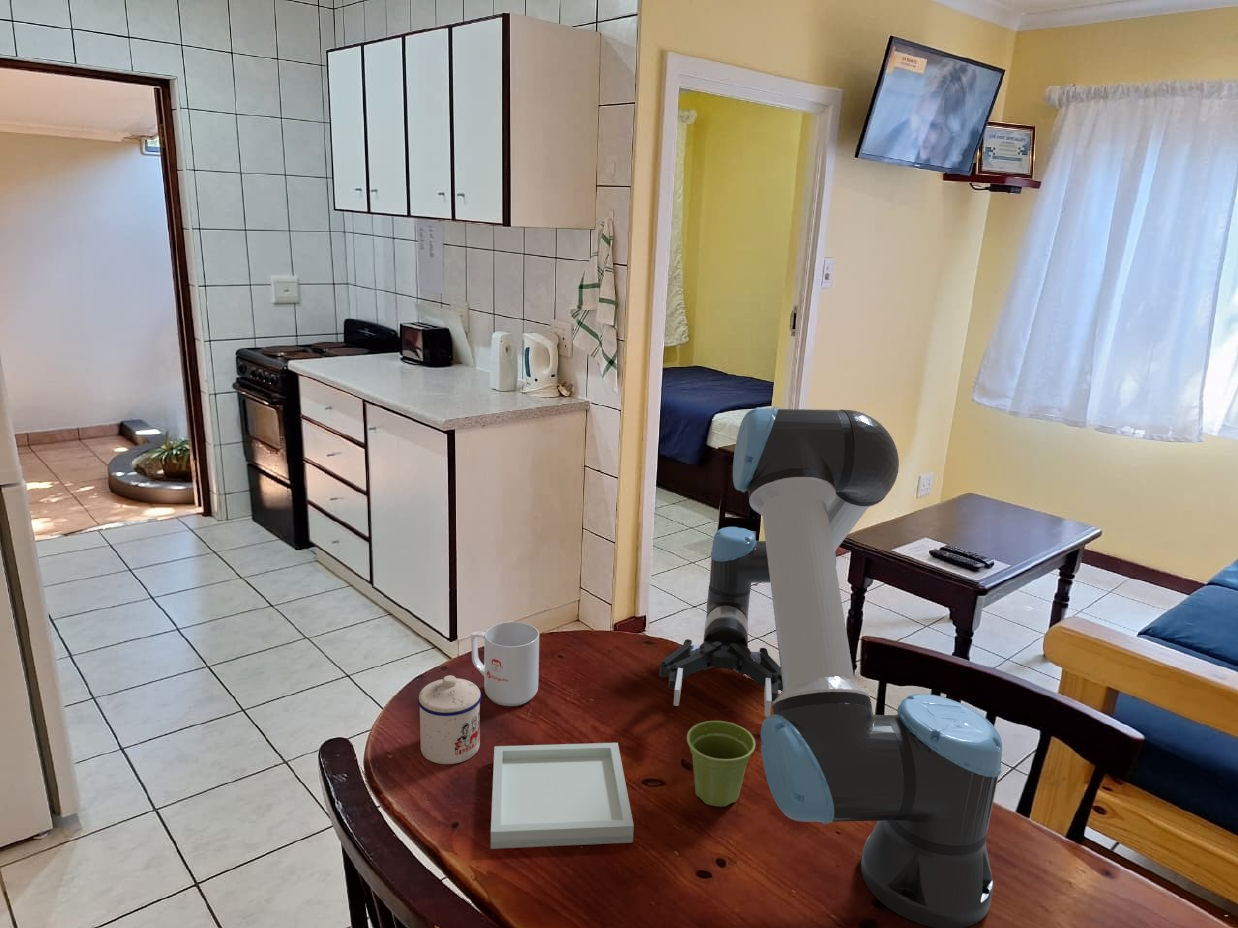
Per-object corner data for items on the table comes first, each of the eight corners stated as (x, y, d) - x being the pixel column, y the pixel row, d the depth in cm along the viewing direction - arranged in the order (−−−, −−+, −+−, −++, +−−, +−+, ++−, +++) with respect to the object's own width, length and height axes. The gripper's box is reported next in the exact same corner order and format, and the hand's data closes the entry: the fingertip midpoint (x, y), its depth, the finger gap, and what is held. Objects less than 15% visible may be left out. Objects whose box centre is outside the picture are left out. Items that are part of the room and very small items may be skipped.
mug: (547, 688, 144) (549, 628, 141) (521, 714, 136) (521, 651, 133) (487, 671, 148) (487, 613, 145) (457, 695, 140) (457, 634, 137)
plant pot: (679, 809, 115) (683, 754, 113) (686, 768, 124) (690, 716, 122) (748, 820, 114) (754, 764, 111) (751, 777, 123) (756, 725, 120)
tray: (632, 842, 109) (633, 825, 108) (490, 848, 107) (490, 831, 106) (617, 757, 126) (617, 742, 125) (494, 761, 124) (494, 746, 123)
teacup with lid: (464, 772, 121) (463, 699, 118) (407, 758, 123) (405, 687, 120) (499, 727, 132) (499, 659, 129) (446, 715, 135) (445, 649, 131)
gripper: (797, 664, 146) (804, 735, 126) (652, 647, 149) (637, 714, 129) (801, 624, 144) (810, 690, 124) (655, 609, 147) (640, 671, 127)
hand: (722, 703), depth 126 cm, fingers open, 13 cm apart
